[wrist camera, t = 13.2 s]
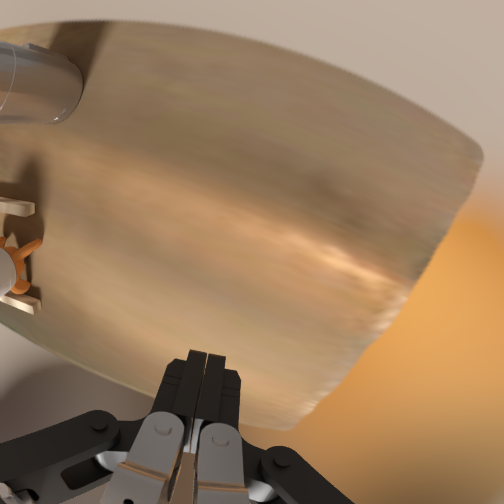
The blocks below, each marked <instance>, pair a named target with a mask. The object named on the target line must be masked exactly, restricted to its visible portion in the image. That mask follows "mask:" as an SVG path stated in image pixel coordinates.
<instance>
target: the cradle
mask: <svg viewBox="0 0 504 504" xmlns="http://www.w3.org/2000/svg"><path fill="white" fill-rule="evenodd" d="M0 212H4V213H8V214H13V215H18V216H22V217H27V216H29V215H32V214H34V213H35V203H32V202H26V201H21V200H15V199H10V198H4V197H0ZM0 301H2V302H4V303H7V304H9V305H11V306H14V307H16V308H18V309H21V310H23V311H26V312H28V313H31V314H33V315H34V314H35V313H37V312H38V311H39V310H40V309H41V302H40V300H39V299H36V298H33V297H30V296H28V295H25V294H16V293H13V292H12V291H11V290H9V291H8V292H7V293H6V294H5V295H3V296H2V297H1V298H0Z"/></svg>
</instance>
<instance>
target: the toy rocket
mask: <svg viewBox="0 0 504 504" xmlns="http://www.w3.org/2000/svg"><path fill="white" fill-rule="evenodd" d="M5 242H6V236H5V237H0V298H1V297H2V296H3V295H5V294H6V293H7V292H8V291H9V290H11V291H12V292H13V293H16V294H23V293H24V292H26V291H27V290H28V289H29V287H30V285H31V283H30V282H27V281H25V280H22V279H20V276H21V274H22V273H23V270H24V266H25V264H26V256H28V255H29V254H30V253H31V252H32V251H34V250H35V249H37V248H38V247H39V246H40V245H41V244H42V240H41V239H37V240H34V241H32V242H30V243H28V244H26V245H25V246H23V247H22V248H20V249H17V248H15V247H4V245H5Z"/></svg>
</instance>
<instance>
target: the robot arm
mask: <svg viewBox="0 0 504 504" xmlns="http://www.w3.org/2000/svg"><path fill="white" fill-rule="evenodd" d="M82 87H83V78H82V74H81V72H80V70H79V68H78V67H77V66H76V65H75V64H73V63H71V62H69V60H68V57H67V56H65V55H62V54H60V53H57V52H54V51H51V50H49V49H46V48H43V47H40V46H37V45H34V44H31V43H26V44H24V45H23V46H18V45H14V44H11V43H7V42H3V41H0V124H54V123H58V122H60V121H62V120H64V119H65V118H67V117H68V116H69V115H70V114H71V113H72V112H73V110H74V109H75V107H76V106H77V104H78V102H79V99H80V97H81V93H82ZM206 358H207V353H205V352H200V351H195V350H191V349H190V351H189V354H188V357H187V361H184V360H180V359H174V360H173V361H172V362H171V363H170V364H168V365H167V368H166V371H165V373H164V376H163V379H162V382H161V384H160V387H159V390H158V393H157V396H156V398H155V401H154V404H153V407H152V410H151V412H150V413H149V414H148V415H147V416H146V417H144V418H142V419H140V420H136V421H117V419H116V418H115V417H114V416H113V415H112V414H110V413H108V412H106V411H102V410H93V411H89V412H87V413H84V414H82V415H79V416H77V417H74V418H72V419H69V420H67V421H64V422H61V423H59V424H56V425H53V426H50V427H48V428H45V429H42V430H39V431H37V432H34V433H31V434H28V435H25V436H22V437H19V438H16V439H13V440H10V441H7V442H4V443H0V504H59V503H62V502H64V501H66V500H69V499H71V498H74V497H76V496H78V495H81V494H83V493H85V492H87V491H89V490H91V489H94V488H96V487H98V486H100V485H102V484H104V483H106V482H108V481H109V484H108V486H107V488H106V490H105V492H104V494H103V497H102V499H101V501H100V503H99V504H170V501H171V498H172V495H173V491H174V488H175V485H176V481H177V478H178V475H179V472H180V468H181V460H182V455H183V451H185V452H189V449H190V444H191V439H192V447H191V453H194V454H195V459H194V470H195V472H194V487H193V488H194V489H193V504H250V503H251V504H355V503H353V502H352V501H351V500H350V499H348V498H347V497H346V496H345V495H344V494H342V493H341V492H340V491H339V490H338V489H337V488H335V487H334V486H333V485H332V484H331V483H330V482H328V481H327V480H326V479H325V478H324V477H323V476H322V475H321V474H319V473H318V472H317V471H316V470H315V469H314V468H313V467H311V466H310V464H308V463H307V462H306V461H305V460H304V459H303V458H302V457H301V456H300V455H299V454H298V453H297V452H295V451H294V450H292V449H291V448H288V447H284V446H274V447H271V448H268V449H267V450H263V449H260V448H258V447H255V446H253V445H251V444H249V443H247V442H246V441H245V440H244V439H243V438H242V437H241V435H240V433H239V430H238V421H239V405H240V389H241V379H240V377H239V375H238V373H237V371H235V370H230V369H224V368H225V360H226V356H220V355H215V354H210V353H209V354H208V359H207V364H206ZM205 365H206V368H205ZM204 371H205V373H204ZM193 429H194V431H193ZM192 434H193V438H192Z"/></svg>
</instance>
